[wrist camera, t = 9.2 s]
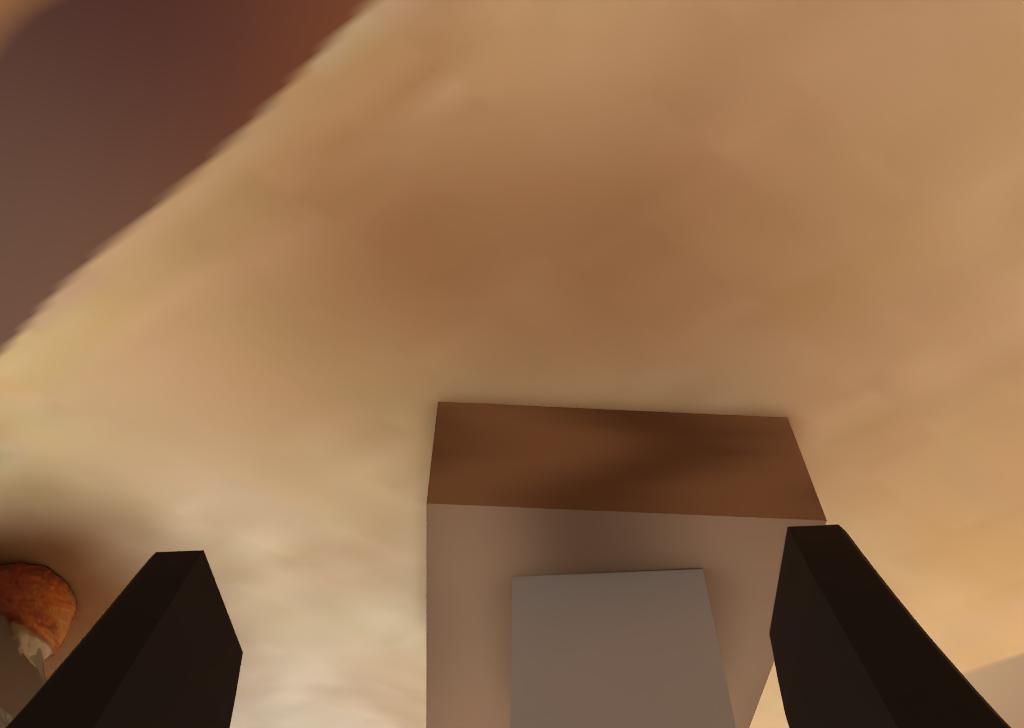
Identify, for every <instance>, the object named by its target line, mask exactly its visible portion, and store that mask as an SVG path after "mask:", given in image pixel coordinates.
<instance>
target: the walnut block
mask: <svg viewBox="0 0 1024 728" xmlns="http://www.w3.org/2000/svg"><path fill="white" fill-rule="evenodd" d="M826 521H827V520H826V518H825V515H824V512H823V510H822V507H821V505H820V502H819V499H818V497H817V494H816V492H815V489H814V486H813V484H812V481H811V478H810V476H809V473H808V471H807V468H806V465H805V463H804V460H803V457H802V455H801V452H800V450H799V447H798V444H797V442H796V439H795V437H794V434H793V431H792V429H791V426H790V423H789V421H788V418H781V417H759V416H737V415H715V414H693V413H671V412H649V411H627V410H605V409H583V408H561V407H539V406H517V405H495V404H473V403H451V402H438V407H437V416H436V425H435V434H434V443H433V452H432V461H431V469H430V478H429V487H428V496H427V701H426V728H510V706H511V637H512V577H515V576H540V575H565V574H590V573H615V572H640V571H665V570H690V569H703V572H704V576H705V581H706V586H707V591H708V596H709V600H710V605H711V610H712V615H713V620H714V624H715V629H716V634H717V639H718V644H719V648H720V653H721V658H722V663H723V668H724V672H725V677H726V682H727V687H728V692H729V697H730V701H731V706H732V711H733V716H734V721H735V725H736V728H749V727H750V724H751V721H752V719H753V716H754V713H755V711H756V708H757V705H758V703H759V700H760V697H761V695H762V692H763V689H764V687H765V684H766V681H767V679H768V676H769V673H770V671H771V668H772V665H773V663H774V656H773V651H772V645H771V640H770V635H769V632H770V626H771V620H772V614H773V608H774V602H775V596H776V591H777V585H778V579H779V573H780V567H781V561H782V555H783V550H784V544H785V538H786V532H787V527H791V526H816V525H825V524H826Z"/></svg>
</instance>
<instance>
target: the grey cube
mask: <svg viewBox="0 0 1024 728" xmlns="http://www.w3.org/2000/svg"><path fill="white" fill-rule="evenodd" d="M510 728H736V725H735V721H734V716H733V711H732V706H731V701H730V697H729V692H728V687H727V682H726V677H725V672H724V668H723V663H722V658H721V653H720V648H719V644H718V639H717V634H716V629H715V624H714V620H713V615H712V610H711V605H710V600H709V596H708V591H707V586H706V581H705V576H704V572H703V569H690V570H665V571H640V572H615V573H590V574H565V575H540V576H515V577H512V637H511V706H510Z"/></svg>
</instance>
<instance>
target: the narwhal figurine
mask: <svg viewBox="0 0 1024 728" xmlns="http://www.w3.org/2000/svg"><path fill="white" fill-rule="evenodd" d="M76 608H77V605H76V600H75V597H74V594H73V593H72V592H71V589H70V587H68V585H67V583H65V581H64V580H63V579H62V578H61V577H59V576H57V575H55V574H54V572H53V571H52V570H50V569H49V568H47V567H45V566H43V565H38V566H36V565H30V564H22V563H19V562H18V563H16V564H11V565H0V728H5V727H6V726H7V725H8V724H9V723H10V722H11V721H12V720H13V719H14V718H15V717H16V715H17V714H18V713H19V712H20V711H21V710H22V709H23V708H24V707H25V705H26V704H27V703H28V702H29V701H30V700H31V699H32V697H33V696H34V695H35V694H36V693H37V692H38V690H39V689H40V688H41V687H42V686H43V685H44V684H45V682H46V678H45V674H44V663H43V661H44V660H45V659H46V658H48V657H51V656H54V655H55V654H56V652H57V651H58V649H59V648H60V646H61V645H62V643H63V641H64V639H65V636H66V635H67V631H68V628H69V625H70V623H71V621H72V618H73V616H74V614H75V613H76Z"/></svg>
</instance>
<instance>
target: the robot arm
mask: <svg viewBox="0 0 1024 728" xmlns="http://www.w3.org/2000/svg"><path fill="white" fill-rule="evenodd" d="M769 635H770V640H771V645H772V651H773V656H774V661H775V666H776V672H777V677H778V682H779V686H780V691H781V696H782V701H783V705H784V710H785V715H786V718H787V721H788V725H789V728H1011V727H1010V726H1009V725H1008V724H1007V723H1006V722H1005V721H1004V720H1003V719H1002V718H1001V717H1000V716H999V715H998V714H997V713H996V711H995V710H994V709H993V708H992V707H991V706H990V705H989V704H988V703H987V702H986V700H985V699H984V698H983V697H982V696H981V695H980V694H979V693H978V692H977V691H976V690H975V688H974V687H973V686H972V685H971V684H970V683H969V682H968V680H967V679H966V678H965V677H964V676H963V675H962V674H961V672H960V671H959V670H958V669H957V668H956V667H955V666H954V664H953V663H952V662H951V661H950V660H949V659H948V658H947V656H946V655H945V654H944V653H943V652H942V651H941V650H940V648H939V647H938V646H937V645H936V644H935V643H934V642H933V640H932V639H931V638H930V637H929V636H928V634H927V633H926V632H925V631H924V630H923V628H922V627H921V626H920V625H919V624H918V622H917V621H916V620H915V619H914V618H913V616H912V615H911V614H910V613H909V611H908V610H907V609H906V608H905V606H904V605H903V604H902V603H901V602H900V600H899V599H898V598H897V597H896V595H895V594H894V593H893V592H892V590H891V589H890V588H889V587H888V585H887V584H886V583H885V582H884V580H883V579H882V578H881V577H880V575H879V574H878V573H877V571H876V570H875V569H874V568H873V566H872V565H871V564H870V562H869V561H868V560H867V558H866V557H865V556H864V555H863V553H862V552H861V551H860V549H859V548H858V547H857V545H856V544H855V543H854V541H853V540H852V539H851V537H850V536H849V535H848V534H847V532H846V531H845V530H844V529H843V528H842V527H840V526H839V525H816V526H791V527H787V532H786V538H785V544H784V550H783V555H782V561H781V567H780V573H779V579H778V585H777V591H776V596H775V602H774V608H773V614H772V620H771V626H770V632H769ZM242 654H243V652H242V649H241V647H240V644H239V642H238V639H237V636H236V634H235V631H234V628H233V626H232V623H231V621H230V618H229V615H228V613H227V610H226V608H225V605H224V602H223V600H222V597H221V595H220V592H219V589H218V587H217V584H216V582H215V579H214V576H213V574H212V571H211V569H210V566H209V563H208V561H207V558H206V555H205V553H204V550H202V551H178V552H156V553H155V554H154V555H153V556H152V557H151V558H150V559H149V560H148V561H147V563H146V564H145V565H144V566H143V567H142V568H141V570H140V571H139V572H138V573H137V574H136V576H135V577H134V578H133V579H132V580H131V582H130V583H129V584H128V585H127V586H126V588H125V589H124V590H123V591H122V592H121V594H120V595H119V596H118V597H117V598H116V600H115V601H114V602H113V603H112V604H111V606H110V607H109V608H108V609H107V611H106V612H105V613H104V614H103V615H102V617H101V618H100V619H99V620H98V621H97V623H96V624H95V625H94V626H93V627H92V629H91V630H90V631H89V632H88V633H87V635H86V636H85V637H84V638H83V639H82V640H81V642H80V643H79V644H78V645H77V646H76V648H75V649H74V650H73V651H72V652H71V654H70V655H69V656H68V657H67V658H66V659H65V661H64V662H63V663H62V664H61V665H60V666H59V667H58V669H57V670H56V671H55V672H54V673H53V674H52V675H51V677H50V678H49V679H48V680H47V681H46V682H45V684H44V685H43V686H42V687H41V688H40V689H39V690H38V692H37V693H36V694H35V695H34V696H33V697H32V699H31V700H30V701H29V702H28V703H27V704H26V705H25V707H24V708H23V709H22V710H21V711H20V712H19V713H18V714H17V715H16V717H15V718H14V719H13V720H12V721H11V722H10V723H9V724H8V725H7V726H6V727H5V728H230V722H231V717H232V712H233V707H234V701H235V696H236V690H237V684H238V678H239V672H240V666H241V660H242Z"/></svg>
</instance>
